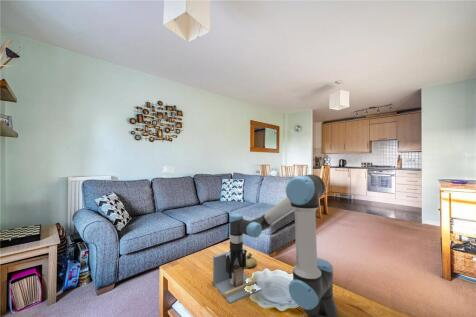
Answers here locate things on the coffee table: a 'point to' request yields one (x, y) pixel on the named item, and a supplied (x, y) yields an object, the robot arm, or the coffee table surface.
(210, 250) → the coffee table surface
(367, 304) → the coffee table surface
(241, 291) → the bracket
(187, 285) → the coffee table surface
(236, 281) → the cabinet block
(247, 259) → the acorn cap
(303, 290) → the robot arm
